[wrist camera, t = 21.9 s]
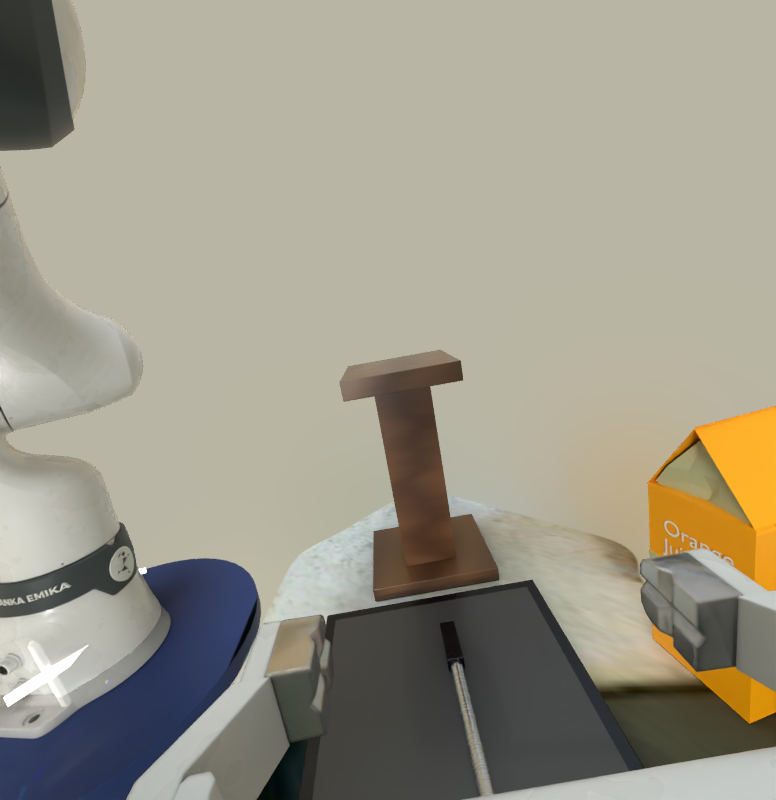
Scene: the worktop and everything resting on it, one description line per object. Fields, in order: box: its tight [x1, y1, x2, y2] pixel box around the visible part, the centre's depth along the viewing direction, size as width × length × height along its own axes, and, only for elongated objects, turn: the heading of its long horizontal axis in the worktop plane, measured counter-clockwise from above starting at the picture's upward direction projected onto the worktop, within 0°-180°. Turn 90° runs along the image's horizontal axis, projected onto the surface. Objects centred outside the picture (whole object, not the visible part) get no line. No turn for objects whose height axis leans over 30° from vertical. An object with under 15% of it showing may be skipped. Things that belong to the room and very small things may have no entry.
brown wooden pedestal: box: [340, 350, 499, 601], centre depth 46 cm, size 14×12×25 cm
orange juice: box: [648, 406, 776, 724], centre depth 28 cm, size 8×9×20 cm
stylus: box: [439, 621, 495, 797], centre depth 28 cm, size 1×16×1 cm, turn 3°
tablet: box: [299, 580, 645, 800], centre depth 31 cm, size 22×20×1 cm
